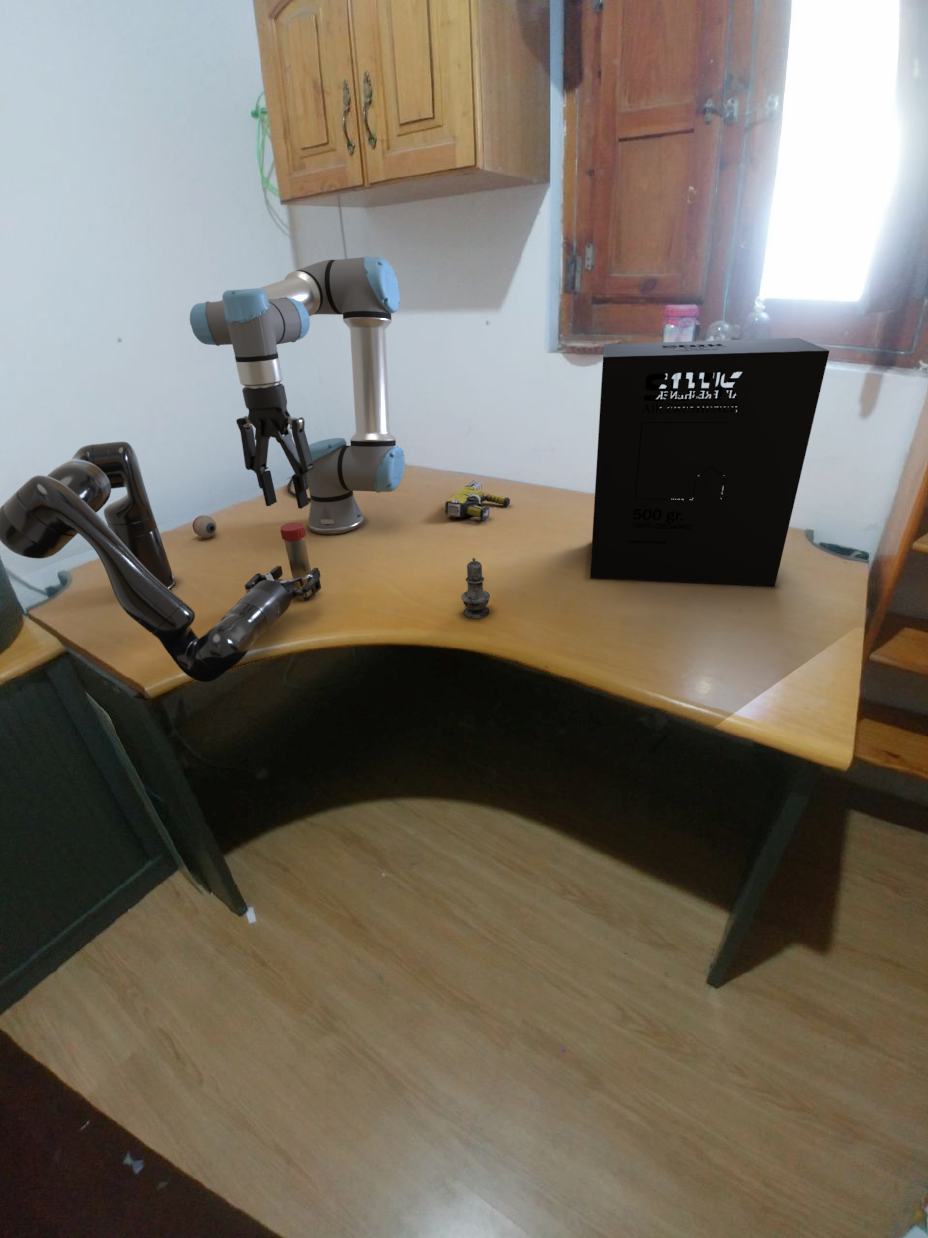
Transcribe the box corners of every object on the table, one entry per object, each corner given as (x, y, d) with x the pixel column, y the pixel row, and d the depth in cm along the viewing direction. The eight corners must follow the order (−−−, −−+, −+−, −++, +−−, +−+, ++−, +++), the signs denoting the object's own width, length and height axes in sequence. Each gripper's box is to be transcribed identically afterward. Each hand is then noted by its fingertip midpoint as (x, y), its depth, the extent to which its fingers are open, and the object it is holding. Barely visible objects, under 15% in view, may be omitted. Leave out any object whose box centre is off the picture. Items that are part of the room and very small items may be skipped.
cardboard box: (755, 547, 142) (798, 337, 120) (774, 586, 125) (829, 350, 102) (592, 542, 150) (603, 344, 127) (589, 578, 133) (603, 356, 110)
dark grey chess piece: (488, 619, 119) (486, 564, 113) (459, 618, 120) (455, 563, 114) (493, 605, 124) (491, 551, 118) (465, 604, 125) (462, 550, 119)
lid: (288, 543, 122) (286, 532, 121) (277, 537, 126) (275, 526, 124) (310, 536, 125) (308, 526, 124) (298, 530, 128) (296, 520, 127)
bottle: (302, 602, 130) (287, 533, 122) (293, 596, 133) (278, 528, 125) (319, 596, 132) (305, 528, 124) (310, 590, 135) (296, 523, 127)
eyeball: (206, 542, 163) (200, 521, 160) (191, 538, 166) (185, 518, 163) (224, 534, 167) (218, 514, 164) (209, 531, 170) (203, 510, 167)
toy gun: (518, 485, 181) (471, 478, 185) (495, 509, 161) (443, 500, 165) (516, 500, 184) (470, 493, 188) (494, 525, 164) (442, 517, 168)
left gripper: (291, 591, 111) (327, 555, 125) (222, 588, 114) (264, 553, 128) (299, 626, 115) (332, 588, 129) (232, 622, 118) (272, 584, 132)
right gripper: (320, 381, 110) (339, 501, 122) (230, 381, 116) (257, 496, 128) (297, 388, 104) (320, 514, 116) (204, 388, 110) (235, 508, 122)
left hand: (298, 570), depth 128 cm, fingers open, 8 cm apart
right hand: (287, 504), depth 122 cm, fingers open, 7 cm apart
